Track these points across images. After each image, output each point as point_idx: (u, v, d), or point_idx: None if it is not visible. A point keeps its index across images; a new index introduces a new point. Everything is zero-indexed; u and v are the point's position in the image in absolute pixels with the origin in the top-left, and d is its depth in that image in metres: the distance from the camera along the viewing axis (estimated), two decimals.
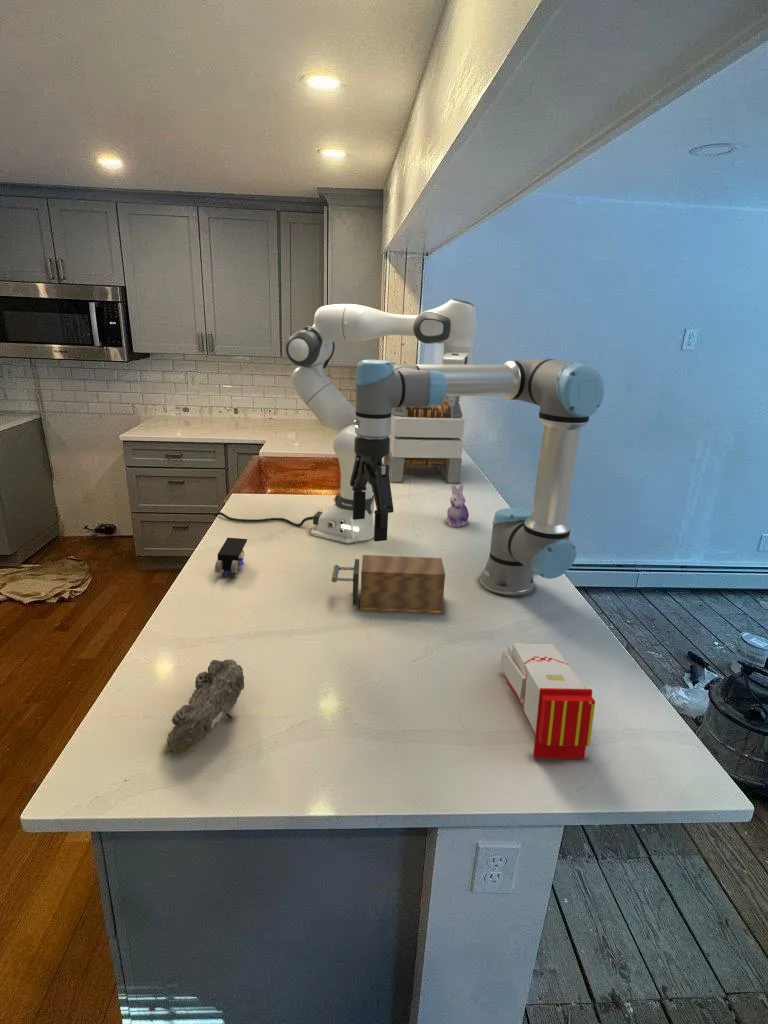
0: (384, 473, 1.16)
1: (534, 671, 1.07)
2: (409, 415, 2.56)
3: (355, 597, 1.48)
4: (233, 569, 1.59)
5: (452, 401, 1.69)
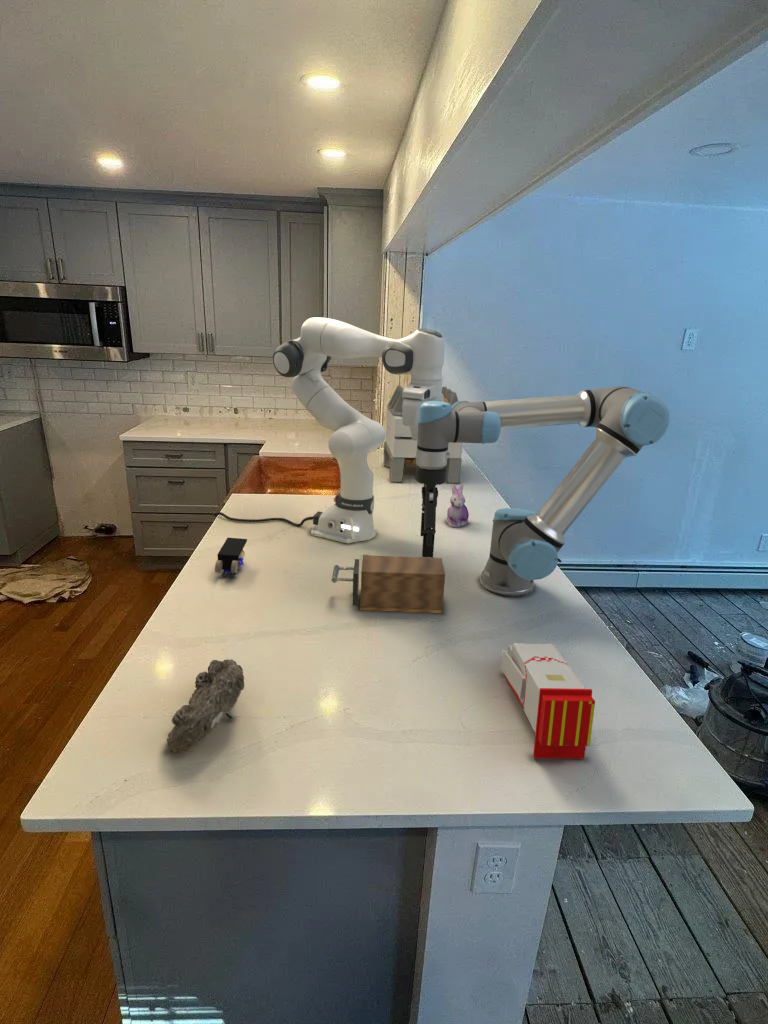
0: None
1: (534, 671, 1.07)
2: None
3: (355, 597, 1.48)
4: (233, 569, 1.59)
5: (415, 435, 1.60)
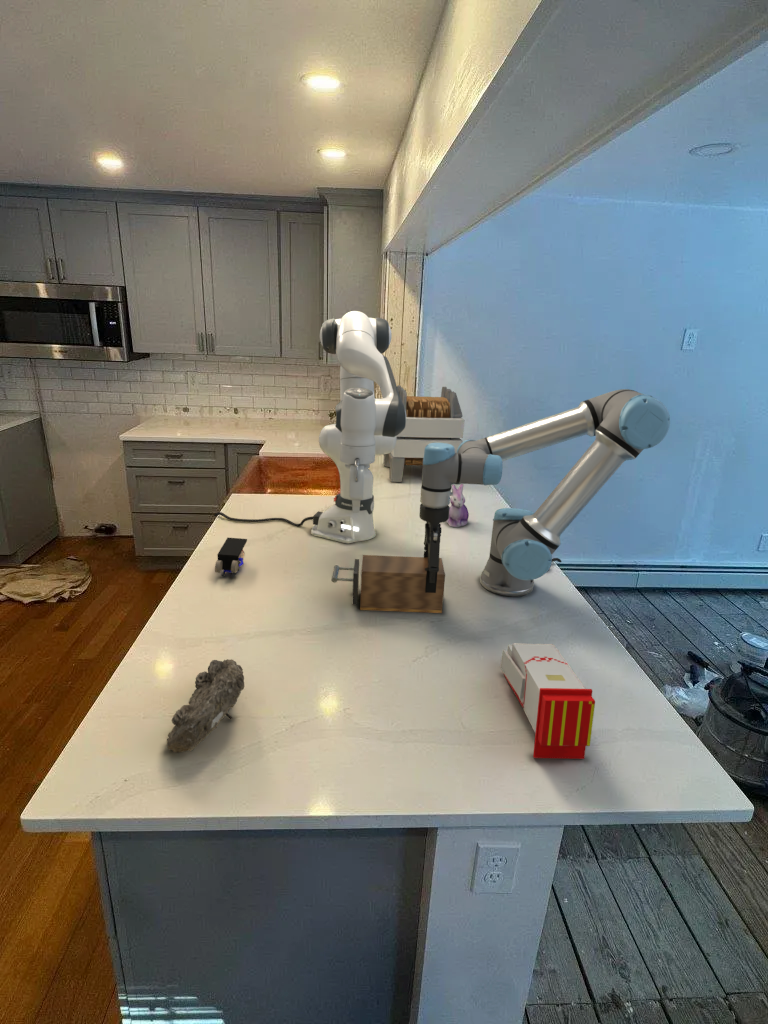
0: None
1: (534, 671, 1.07)
2: (409, 415, 2.56)
3: (355, 597, 1.48)
4: (233, 569, 1.59)
5: None
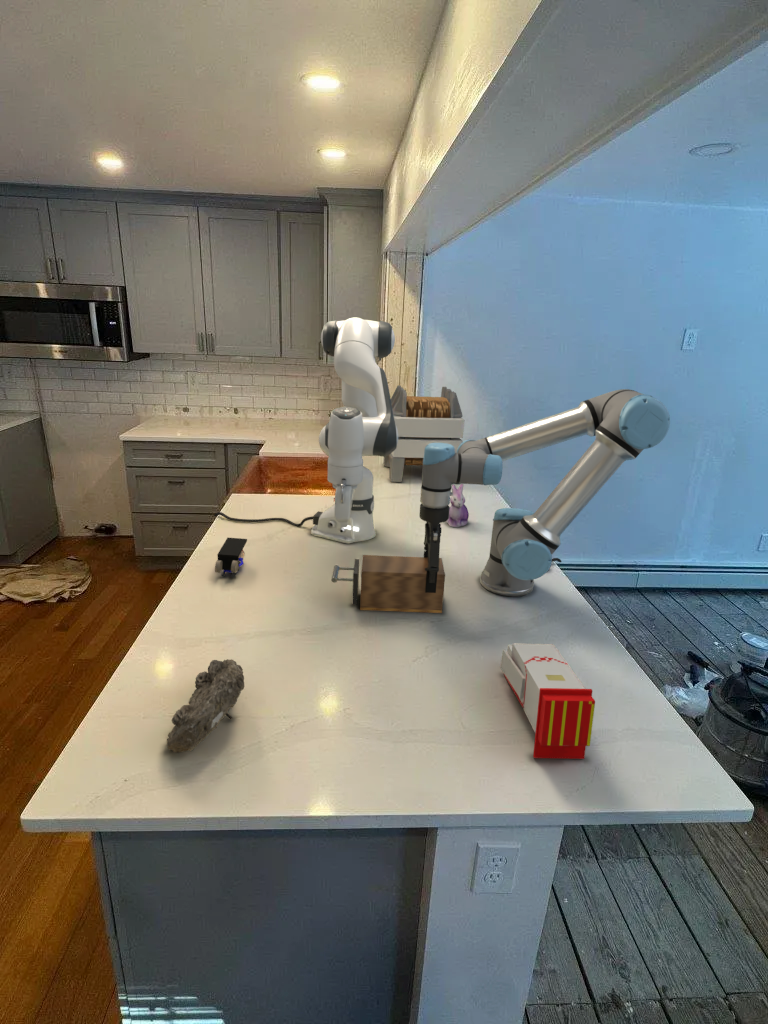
0: None
1: (534, 671, 1.07)
2: (409, 415, 2.56)
3: (355, 597, 1.48)
4: (233, 569, 1.59)
5: None
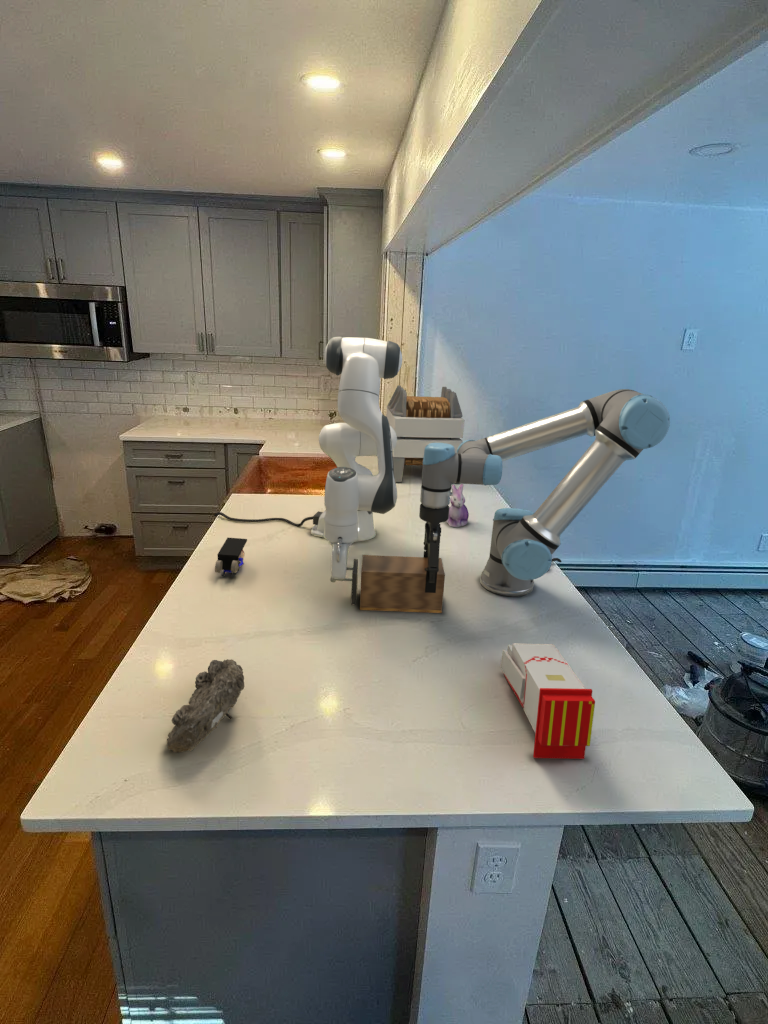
0: None
1: (534, 671, 1.07)
2: (409, 415, 2.56)
3: (354, 597, 1.48)
4: (233, 569, 1.59)
5: None
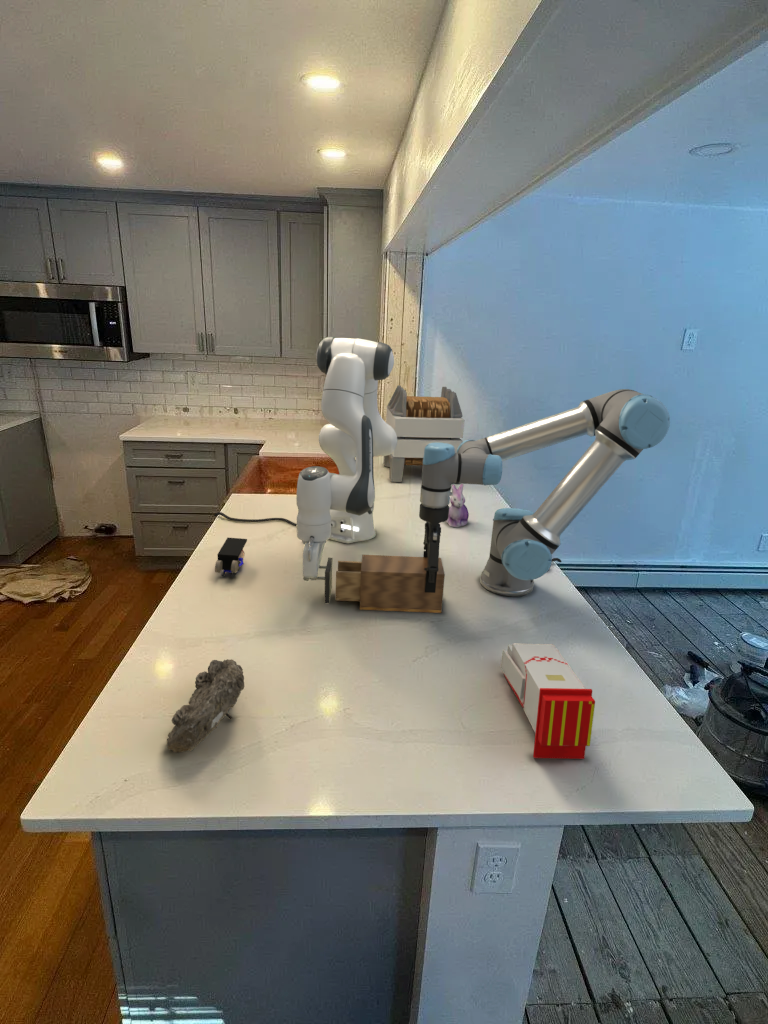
0: None
1: (534, 671, 1.07)
2: (409, 415, 2.56)
3: (327, 595, 1.48)
4: (233, 569, 1.59)
5: None
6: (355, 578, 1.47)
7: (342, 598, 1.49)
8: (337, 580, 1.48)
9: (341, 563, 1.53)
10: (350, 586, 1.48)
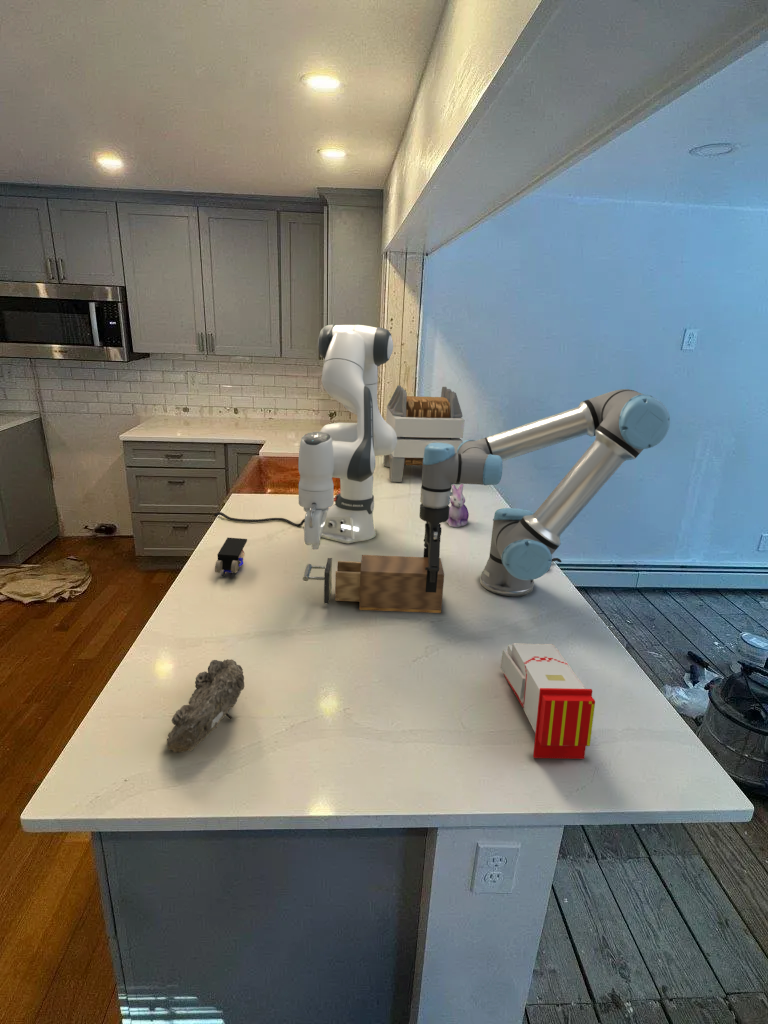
0: None
1: (534, 671, 1.07)
2: (409, 415, 2.56)
3: (327, 596, 1.48)
4: (233, 569, 1.59)
5: None
6: (354, 578, 1.47)
7: (341, 598, 1.49)
8: (336, 580, 1.48)
9: (340, 563, 1.53)
10: (349, 587, 1.48)
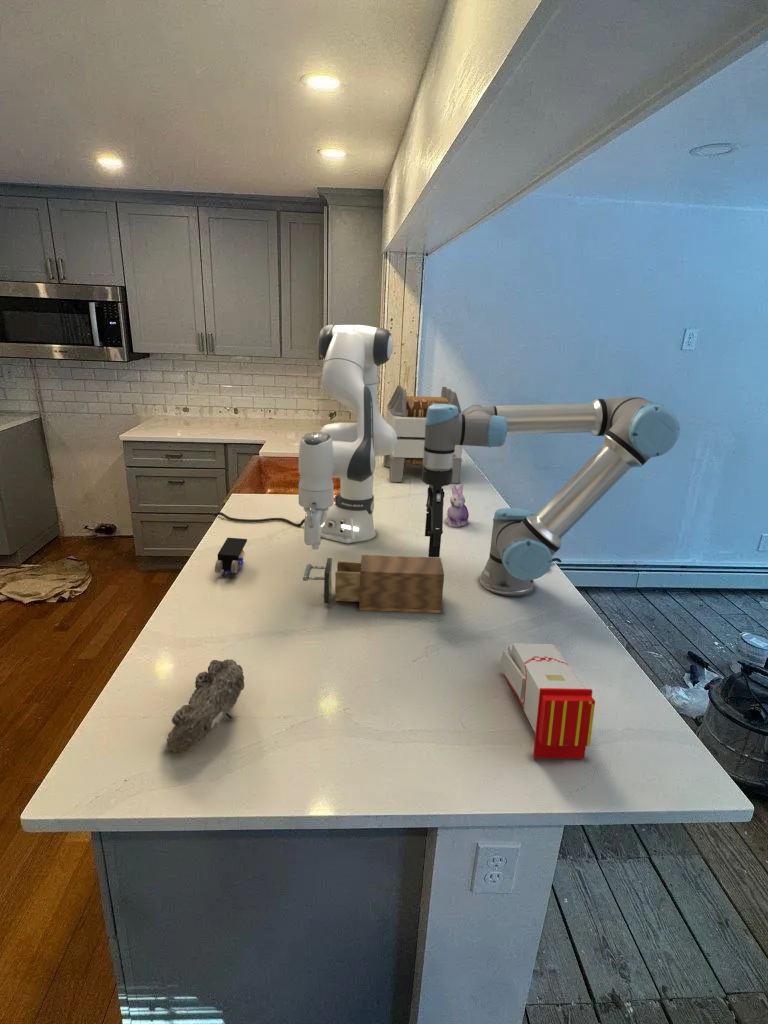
0: None
1: (534, 671, 1.07)
2: (409, 415, 2.56)
3: (327, 596, 1.48)
4: (233, 569, 1.59)
5: None
6: (354, 578, 1.47)
7: (341, 598, 1.49)
8: (336, 580, 1.48)
9: (340, 563, 1.53)
10: (349, 587, 1.48)
